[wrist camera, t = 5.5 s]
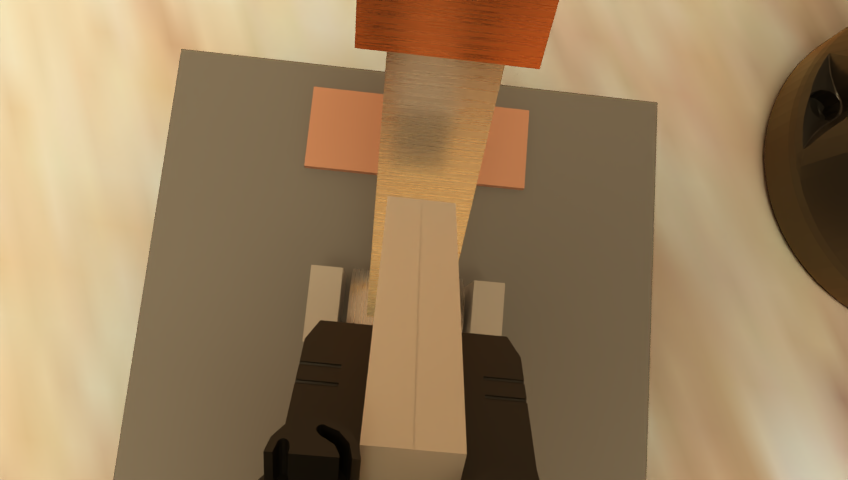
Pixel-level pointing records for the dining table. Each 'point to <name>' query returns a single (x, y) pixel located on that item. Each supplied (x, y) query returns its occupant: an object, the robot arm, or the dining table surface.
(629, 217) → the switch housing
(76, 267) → the dining table surface
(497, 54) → the lever
